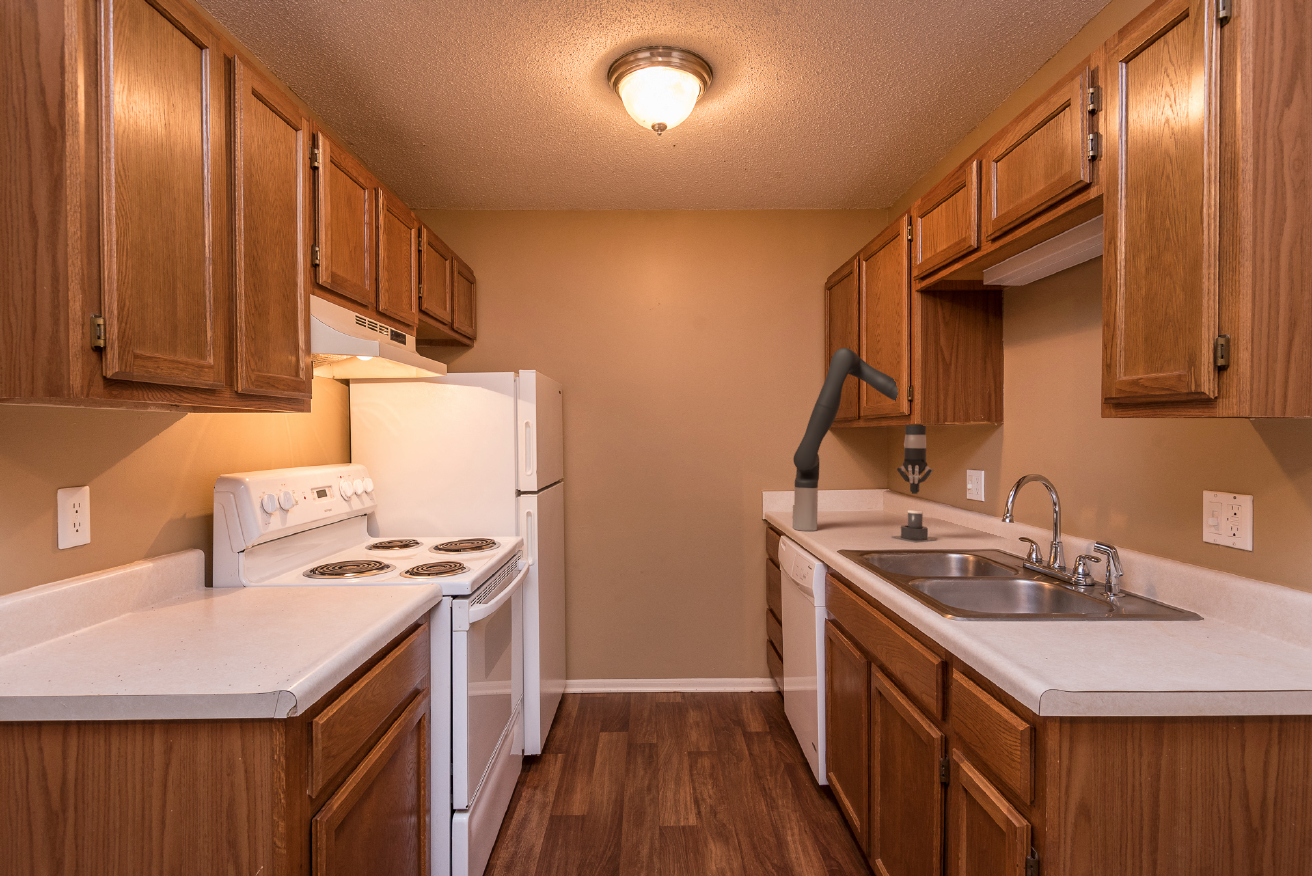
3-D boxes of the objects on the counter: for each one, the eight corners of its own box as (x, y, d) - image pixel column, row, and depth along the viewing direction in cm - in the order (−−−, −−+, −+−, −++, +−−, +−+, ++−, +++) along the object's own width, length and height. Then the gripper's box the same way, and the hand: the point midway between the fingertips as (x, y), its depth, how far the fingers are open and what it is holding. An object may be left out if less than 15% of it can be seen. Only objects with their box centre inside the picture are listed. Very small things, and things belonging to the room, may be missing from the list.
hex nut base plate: (891, 537, 235) (891, 525, 235) (912, 535, 240) (912, 524, 240) (915, 542, 225) (915, 529, 225) (936, 540, 230) (936, 528, 230)
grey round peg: (904, 537, 234) (904, 510, 233) (914, 536, 236) (914, 509, 236) (915, 539, 229) (915, 512, 229) (925, 538, 231) (926, 511, 231)
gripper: (936, 447, 231) (936, 494, 231) (900, 446, 239) (899, 491, 240) (931, 447, 225) (930, 495, 225) (893, 446, 234) (893, 493, 234)
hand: (914, 493), depth 233 cm, fingers closed
